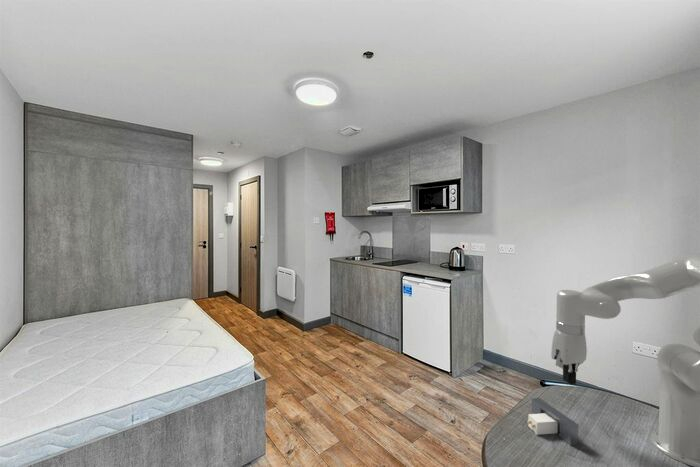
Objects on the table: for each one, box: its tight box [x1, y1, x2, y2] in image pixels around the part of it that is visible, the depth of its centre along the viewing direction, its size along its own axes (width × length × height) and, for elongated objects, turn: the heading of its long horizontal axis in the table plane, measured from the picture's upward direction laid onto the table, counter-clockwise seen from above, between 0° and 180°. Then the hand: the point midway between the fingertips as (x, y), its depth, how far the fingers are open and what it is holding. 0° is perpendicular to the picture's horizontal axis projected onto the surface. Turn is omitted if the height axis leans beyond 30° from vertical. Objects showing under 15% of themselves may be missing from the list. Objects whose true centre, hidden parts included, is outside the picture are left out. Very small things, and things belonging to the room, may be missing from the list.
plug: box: [526, 413, 560, 435], centre depth 94 cm, size 12×4×4 cm, turn 94°
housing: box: [531, 397, 579, 446], centre depth 94 cm, size 3×14×6 cm, turn 13°
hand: (569, 382), depth 95 cm, fingers closed
